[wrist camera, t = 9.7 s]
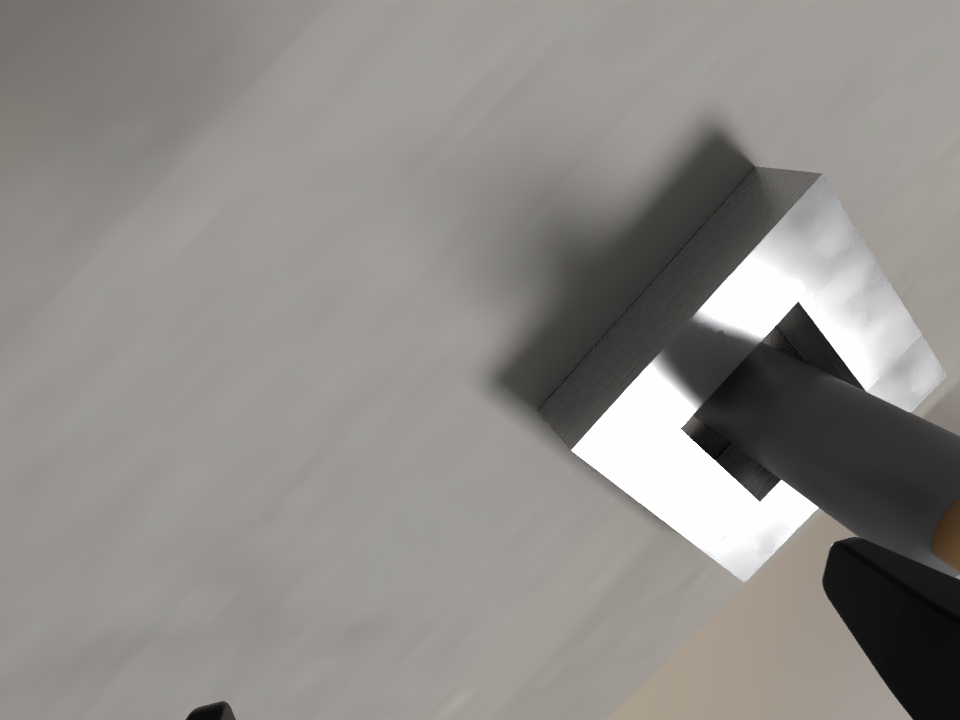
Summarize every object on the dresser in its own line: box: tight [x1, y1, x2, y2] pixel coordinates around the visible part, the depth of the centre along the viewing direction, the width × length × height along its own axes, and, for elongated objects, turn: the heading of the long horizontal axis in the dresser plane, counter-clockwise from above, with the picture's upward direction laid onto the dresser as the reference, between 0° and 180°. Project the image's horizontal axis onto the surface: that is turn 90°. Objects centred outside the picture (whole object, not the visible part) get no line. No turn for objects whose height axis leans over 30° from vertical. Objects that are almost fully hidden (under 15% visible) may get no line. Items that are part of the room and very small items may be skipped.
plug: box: [693, 342, 960, 577], centre depth 19 cm, size 4×4×12 cm
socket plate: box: [538, 167, 947, 583], centre depth 23 cm, size 12×12×3 cm
